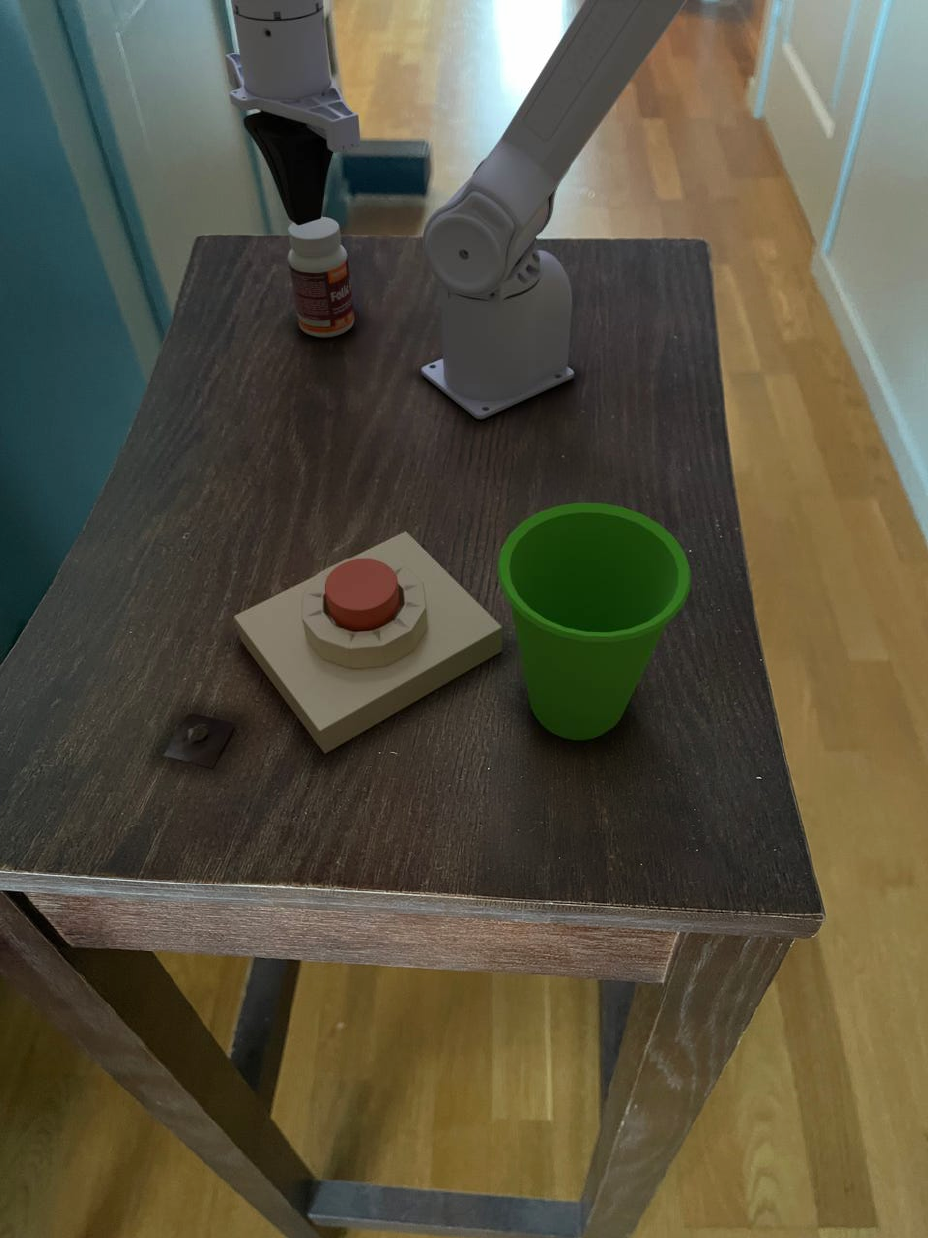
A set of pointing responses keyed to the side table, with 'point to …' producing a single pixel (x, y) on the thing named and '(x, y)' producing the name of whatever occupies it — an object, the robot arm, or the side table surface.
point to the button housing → (368, 645)
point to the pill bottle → (320, 278)
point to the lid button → (362, 594)
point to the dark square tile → (200, 740)
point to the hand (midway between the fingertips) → (305, 218)
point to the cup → (589, 609)
